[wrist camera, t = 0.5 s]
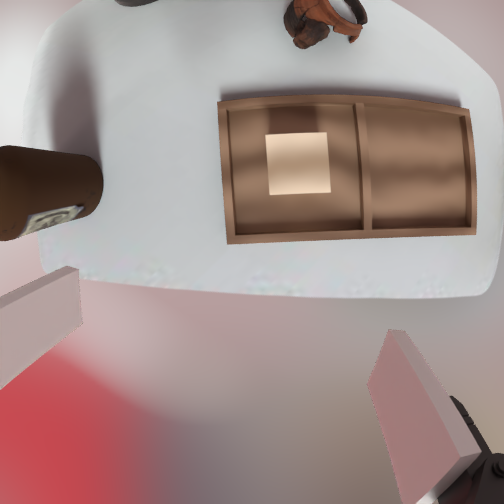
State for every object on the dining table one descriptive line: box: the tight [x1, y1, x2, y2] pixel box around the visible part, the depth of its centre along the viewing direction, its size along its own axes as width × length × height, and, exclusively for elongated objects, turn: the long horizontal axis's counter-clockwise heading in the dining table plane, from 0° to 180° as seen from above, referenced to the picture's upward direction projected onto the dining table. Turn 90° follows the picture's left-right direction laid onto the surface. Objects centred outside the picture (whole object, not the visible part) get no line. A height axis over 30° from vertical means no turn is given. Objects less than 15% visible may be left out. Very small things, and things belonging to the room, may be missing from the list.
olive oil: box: [0, 145, 103, 241], centre depth 25 cm, size 11×11×25 cm
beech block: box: [265, 132, 331, 195], centre depth 30 cm, size 6×6×6 cm
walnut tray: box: [217, 95, 477, 244], centre depth 32 cm, size 17×33×2 cm, turn 94°
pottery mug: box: [284, 0, 367, 49], centre depth 27 cm, size 12×10×8 cm
